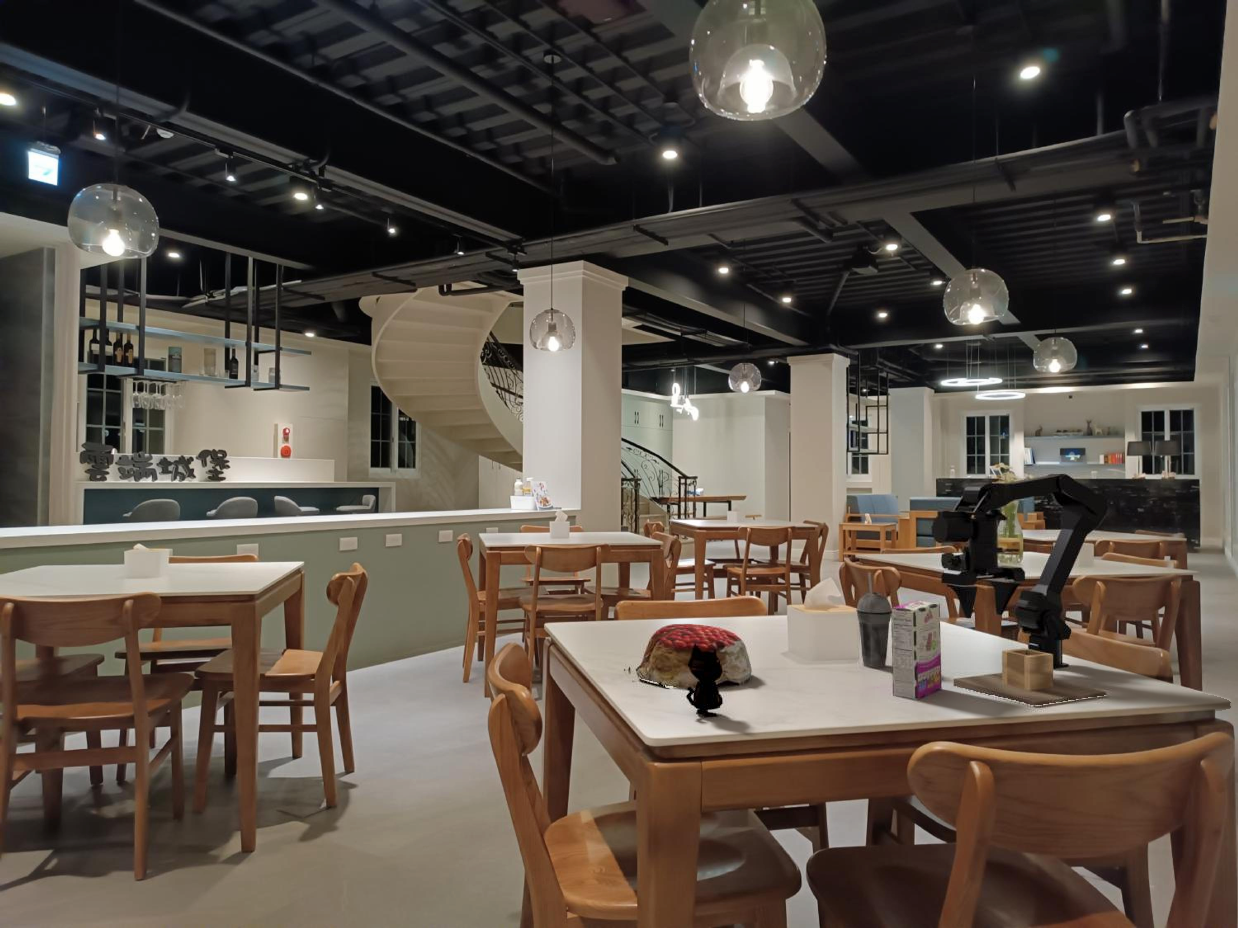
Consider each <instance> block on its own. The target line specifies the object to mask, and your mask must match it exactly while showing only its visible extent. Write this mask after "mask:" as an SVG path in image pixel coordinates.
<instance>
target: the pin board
mask: <svg viewBox="0 0 1238 928" xmlns="http://www.w3.org/2000/svg"><path fill="white" fill-rule="evenodd" d="M953 686H954V687H956V686H957V687H956V688H961V689H963V688H965V689H964V690H967V689H968V691H971V690H973V691H972V692H975V691H976V692H975V693H978V692H980V693H979V694H982V693H985V694H984V695H986V694H988V695H987V696H990V695H995V696H998V697H1003V698H1008V699H1011V700H1016V701H1019V702H1024V703H1026V704H1030V705H1034V706H1035V705H1043V704H1049V703H1056V702H1063V701H1068V700H1076V699H1082V698H1088V697H1097V696H1104V695H1108V694H1107V691H1105V690H1102V689H1101V690H1100V689H1097V688H1094V687H1093V688H1092V687H1088V686H1084V685H1080V684H1078V683H1074V682H1073V683H1072V682H1069V681H1065V680H1060V679H1057V678H1054V677H1053V687H1051V688H1044V689H1037V690H1026V689H1023V688H1019V687H1015V686H1012V685H1008V684H1005V683H1002V672H998V673H989V674H982V675H973V676H964V677H958V678H957V677H956V678H953Z"/></svg>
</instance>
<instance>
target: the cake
mask: <svg viewBox="0 0 1238 928" xmlns="http://www.w3.org/2000/svg"><path fill="white" fill-rule="evenodd" d="M694 644H696V645H697V646H698V647H699V649H700V650H701V651H702V652H705V651H708V652H714V651H715V649H716V655H717V657H718V659H719V660H720V664H722V669H723V671H726V672H722V674H721V677H720V678H719V679H717V680H716V681H715V682H716V684H717V685H719V684H721V683H724V682H726V681H729V682H733V683H738V684H739V686H743V685H742V684H744V683H745V684H747V683H748V682H749V680H750V679H751V676H752V672H753V671H752V666H751V661H750V656H749V654H748V653H749V652H748V651H747V647H746V644H745V643H744V641H743V640H742V638H740V637H739V636H738V635H736V634H735V633H734V632H732V631H729V630H728V629H724V628H721V627H715V626H713V625H704V624H696V623H695V624H693V623H673V624H672V623H671V624H667V625H665V626H663V627H661V628H659V629H657V630H655V632H654V633H653V634H652V636H651V637H650V638H649V641H648V644H647V646H646V648H645V651H644V653H643V657H642V661H641V663H640V665H639V666H638V667H636V668H635V671H636V675H637V677H638V678H639V677H640V678H641V679H645V680H649V681H653V682H657V683H660V685H661V684H663V686H664V685H666V686H673V687H680V688H681V687H682V688H684V689H686V688H688V687H691V688H692V689H695V688H696V684H697V681H699V680H698V679H697V678H696V677H695V676H694V675H693V674H692V673H691V671H690V669H689V667H688V663H689V660H690V658H691V654H692V651H693V647H694ZM623 671H624V672H626V668H623ZM627 671H628V674H629V675H631V666H629V667H628V669H627ZM723 673H724V674H725V675H726V676H727V677H728V678H727V677H726V676H725V675H724V674H723ZM728 679H729V680H728ZM747 681H748V682H747ZM746 682H747V683H746ZM745 684H744V685H745Z"/></svg>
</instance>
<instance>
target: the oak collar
mask: <svg viewBox="0 0 1238 928" xmlns="http://www.w3.org/2000/svg"><path fill="white" fill-rule="evenodd" d="M1001 671H1002V672H1001V673H1002V683H1005V684H1008V685H1012V686H1015V687H1019V688H1023V689H1026V690H1037V689H1044V688H1051V687H1053V678H1054V668H1053V654H1049V653H1044V652H1040V651H1035V650H1031V649H1028V648H1025V647H1023V648H1015V649H1006V650H1001Z"/></svg>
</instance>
